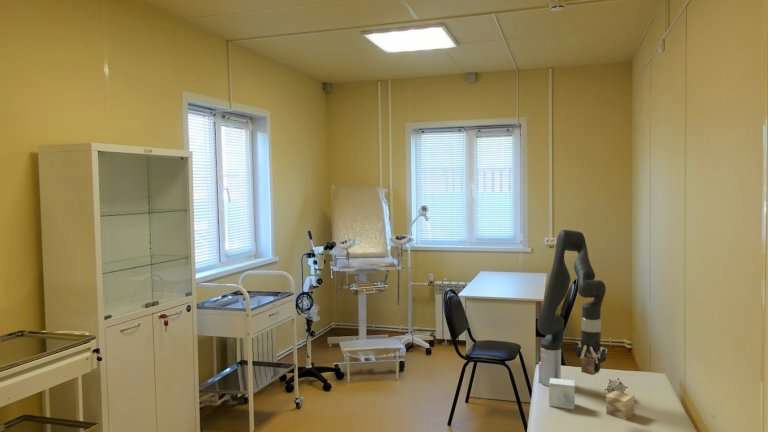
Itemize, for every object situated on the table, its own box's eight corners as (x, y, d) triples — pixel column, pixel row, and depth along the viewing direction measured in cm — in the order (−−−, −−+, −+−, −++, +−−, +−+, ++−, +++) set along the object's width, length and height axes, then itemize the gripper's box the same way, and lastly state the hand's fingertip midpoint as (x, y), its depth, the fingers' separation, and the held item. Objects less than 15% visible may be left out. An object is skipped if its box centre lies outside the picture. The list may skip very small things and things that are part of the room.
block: (581, 371, 226) (581, 357, 226) (587, 369, 229) (587, 354, 229) (592, 375, 222) (593, 360, 222) (599, 372, 226) (599, 357, 225)
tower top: (605, 404, 229) (605, 395, 229) (615, 399, 234) (615, 390, 234) (624, 411, 223) (624, 401, 222) (633, 405, 228) (634, 396, 228)
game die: (620, 406, 245) (630, 394, 238) (601, 398, 246) (611, 386, 240) (620, 390, 251) (631, 378, 245) (602, 383, 253) (612, 370, 247)
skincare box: (548, 406, 237) (548, 382, 236) (549, 400, 243) (549, 377, 242) (574, 409, 233) (574, 385, 233) (574, 403, 239) (575, 380, 239)
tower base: (606, 415, 229) (606, 405, 228) (615, 409, 234) (615, 400, 234) (625, 421, 223) (625, 411, 222) (634, 415, 228) (634, 405, 228)
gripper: (570, 327, 228) (569, 367, 229) (603, 334, 217) (602, 376, 218) (579, 323, 232) (579, 363, 234) (612, 330, 222) (611, 372, 223)
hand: (590, 369), depth 226 cm, fingers closed on block, 5 cm apart
